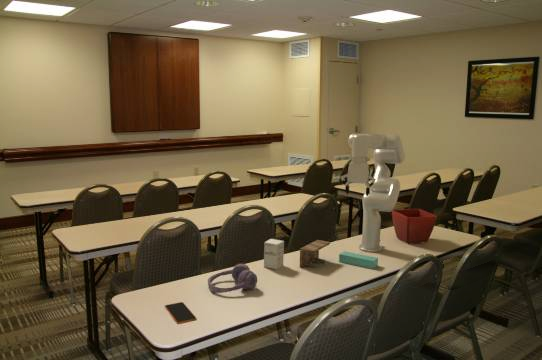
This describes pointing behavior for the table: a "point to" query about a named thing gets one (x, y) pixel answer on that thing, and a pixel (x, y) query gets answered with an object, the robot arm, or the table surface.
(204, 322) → the table surface
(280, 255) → the supplement box
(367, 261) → the teal flat plank
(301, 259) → the overhang shelf
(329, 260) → the table surface
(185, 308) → the smartphone
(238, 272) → the headphones
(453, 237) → the table surface
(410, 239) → the plant pot
